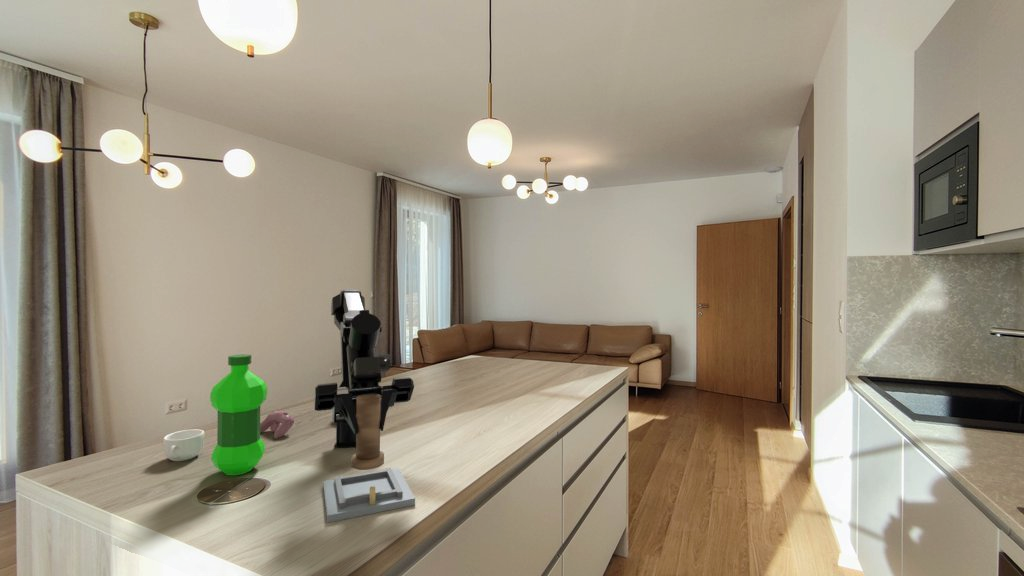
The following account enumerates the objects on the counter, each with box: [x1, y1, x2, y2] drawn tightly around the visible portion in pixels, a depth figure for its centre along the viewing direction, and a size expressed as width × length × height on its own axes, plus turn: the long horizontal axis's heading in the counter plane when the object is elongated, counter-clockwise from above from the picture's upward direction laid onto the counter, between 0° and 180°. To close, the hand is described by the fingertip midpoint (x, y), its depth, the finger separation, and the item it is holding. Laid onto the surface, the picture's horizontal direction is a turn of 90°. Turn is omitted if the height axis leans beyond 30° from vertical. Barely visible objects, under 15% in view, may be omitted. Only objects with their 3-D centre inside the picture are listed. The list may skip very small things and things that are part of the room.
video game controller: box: [260, 410, 295, 440], centre depth 121 cm, size 10×5×7 cm, turn 58°
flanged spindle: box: [350, 394, 385, 471], centre depth 86 cm, size 6×6×13 cm
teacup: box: [162, 428, 205, 462], centre depth 103 cm, size 10×8×5 cm
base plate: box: [322, 467, 416, 523], centre depth 86 cm, size 15×15×4 cm
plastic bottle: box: [209, 353, 268, 476], centre depth 97 cm, size 10×10×25 cm
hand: (369, 431), depth 84 cm, fingers closed on flanged spindle, 4 cm apart
